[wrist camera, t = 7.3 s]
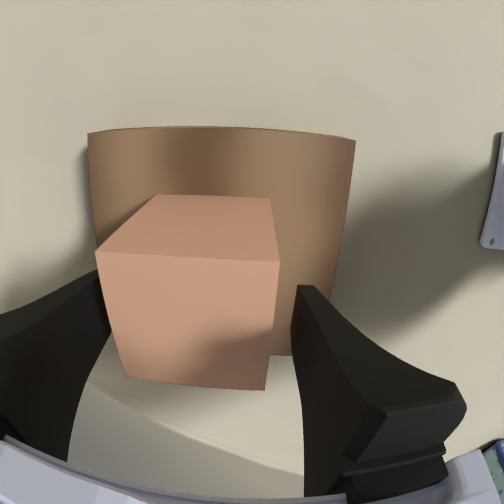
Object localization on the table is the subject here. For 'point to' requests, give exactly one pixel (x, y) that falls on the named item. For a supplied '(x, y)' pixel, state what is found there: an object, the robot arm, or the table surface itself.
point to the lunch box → (496, 466)
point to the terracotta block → (193, 290)
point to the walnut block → (235, 190)
